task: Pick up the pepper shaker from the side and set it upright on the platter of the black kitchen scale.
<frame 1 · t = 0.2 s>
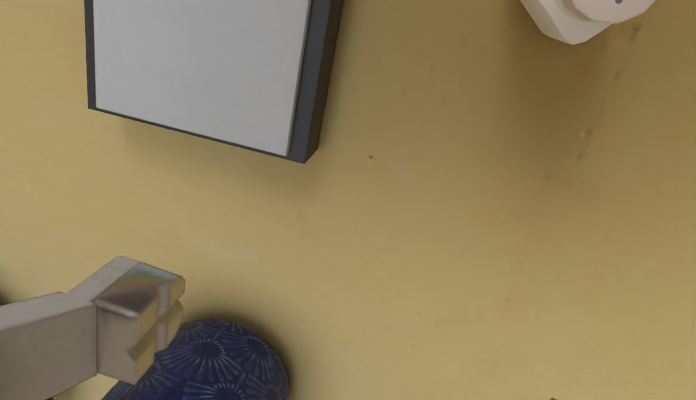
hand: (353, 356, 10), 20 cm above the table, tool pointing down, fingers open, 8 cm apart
scale: (224, 11, 28), on the table
planter: (232, 363, 39), on the table
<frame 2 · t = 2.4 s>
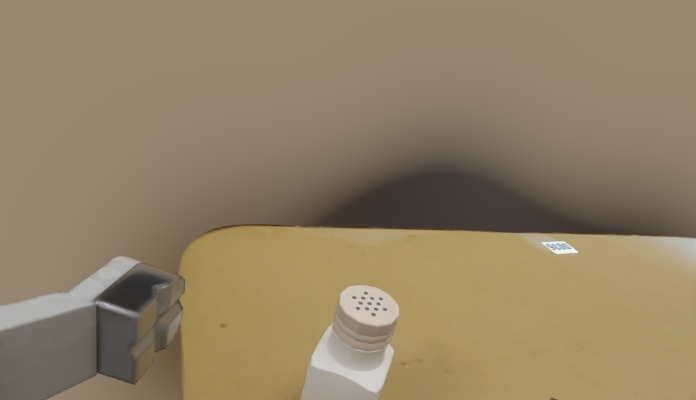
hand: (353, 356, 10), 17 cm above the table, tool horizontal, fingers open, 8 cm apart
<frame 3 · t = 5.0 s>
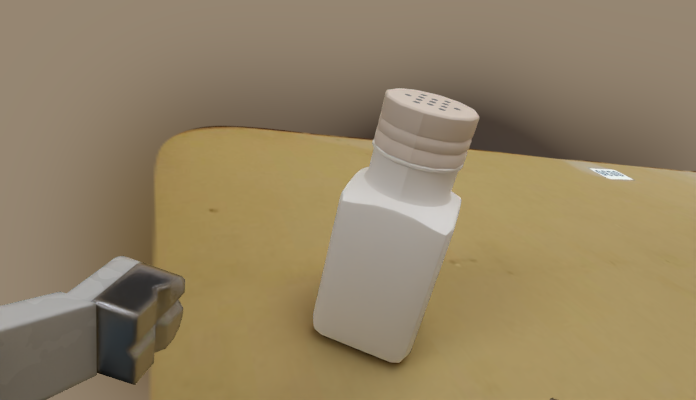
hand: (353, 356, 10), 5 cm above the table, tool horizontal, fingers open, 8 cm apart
pepper shaker: (365, 327, 20), on the table
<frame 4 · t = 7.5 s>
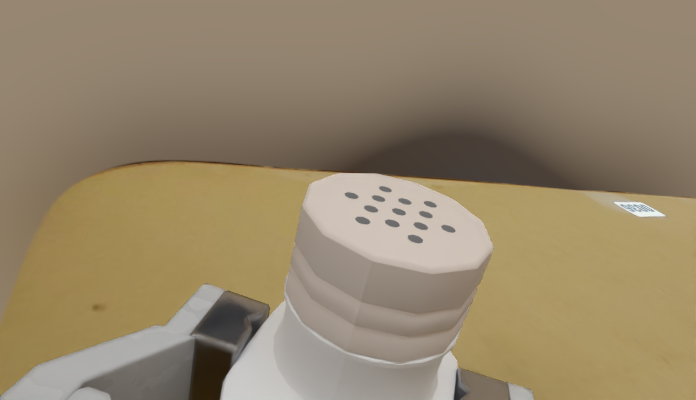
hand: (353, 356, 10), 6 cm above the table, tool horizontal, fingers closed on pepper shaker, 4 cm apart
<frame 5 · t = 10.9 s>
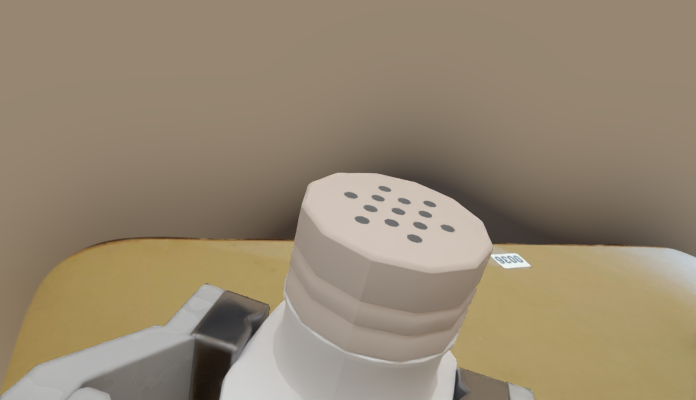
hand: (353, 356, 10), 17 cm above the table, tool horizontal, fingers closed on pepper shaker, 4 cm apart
when the fingers open (9 cm above the table, at t = 14.7 s): pepper shaker stays where it is, resting on scale.
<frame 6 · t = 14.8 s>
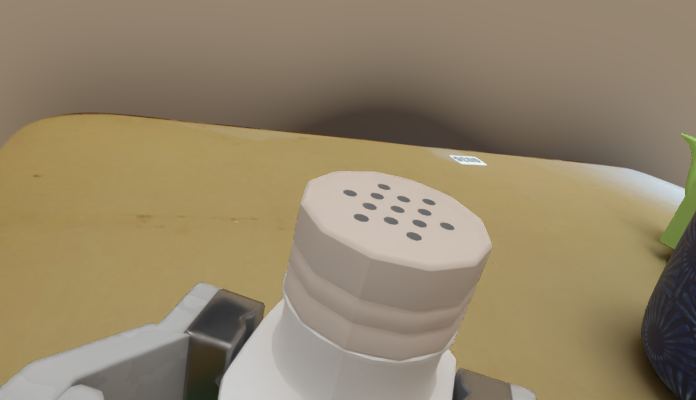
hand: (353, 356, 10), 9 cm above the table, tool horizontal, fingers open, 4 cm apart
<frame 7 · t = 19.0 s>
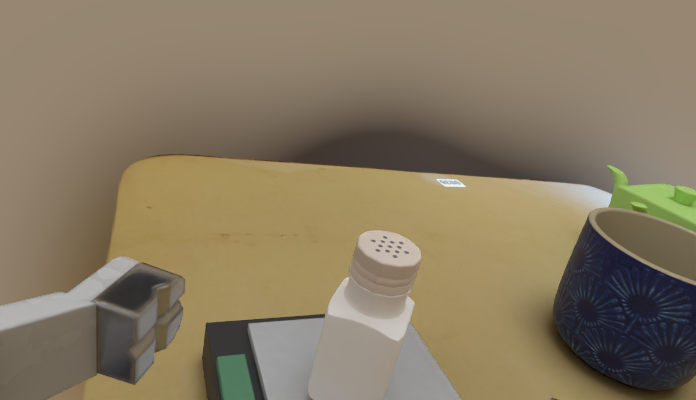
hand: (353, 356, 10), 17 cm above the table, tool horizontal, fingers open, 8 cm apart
pepper shaker: (347, 391, 27), point 3 cm above the table, touching scale
planter: (609, 351, 42), on the table
kettle: (635, 271, 57), on the table
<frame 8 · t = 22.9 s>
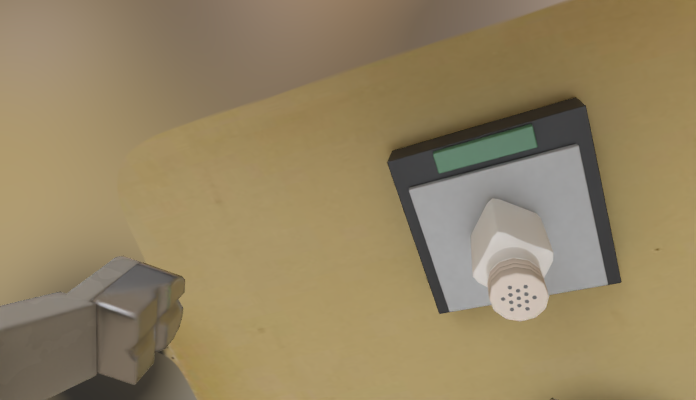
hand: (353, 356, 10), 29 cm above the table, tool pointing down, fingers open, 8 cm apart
scale: (500, 206, 39), on the table
pepper shaker: (503, 224, 35), point 3 cm above the table, touching scale
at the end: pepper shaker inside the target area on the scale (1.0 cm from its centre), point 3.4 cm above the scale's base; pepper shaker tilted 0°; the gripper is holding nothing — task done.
